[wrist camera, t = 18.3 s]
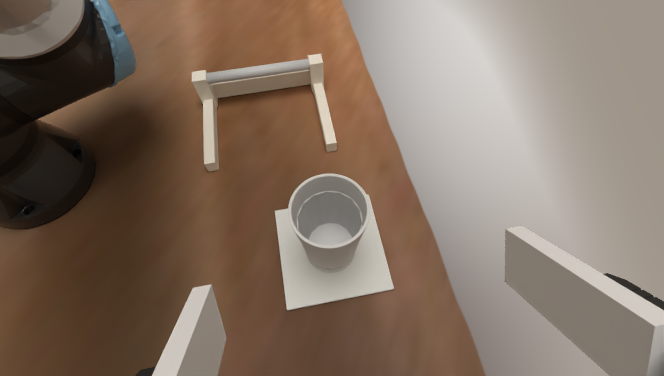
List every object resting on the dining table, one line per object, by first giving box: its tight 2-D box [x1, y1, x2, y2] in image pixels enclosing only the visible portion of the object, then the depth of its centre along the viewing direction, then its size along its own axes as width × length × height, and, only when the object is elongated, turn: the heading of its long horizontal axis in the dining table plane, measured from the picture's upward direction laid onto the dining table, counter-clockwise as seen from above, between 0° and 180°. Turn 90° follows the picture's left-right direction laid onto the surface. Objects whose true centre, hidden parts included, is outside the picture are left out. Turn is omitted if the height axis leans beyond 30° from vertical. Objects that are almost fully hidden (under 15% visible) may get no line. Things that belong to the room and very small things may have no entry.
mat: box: [275, 194, 394, 311], centre depth 44 cm, size 13×13×1 cm
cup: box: [288, 174, 370, 273], centre depth 39 cm, size 8×8×12 cm
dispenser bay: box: [192, 54, 337, 171], centre depth 52 cm, size 16×20×6 cm
